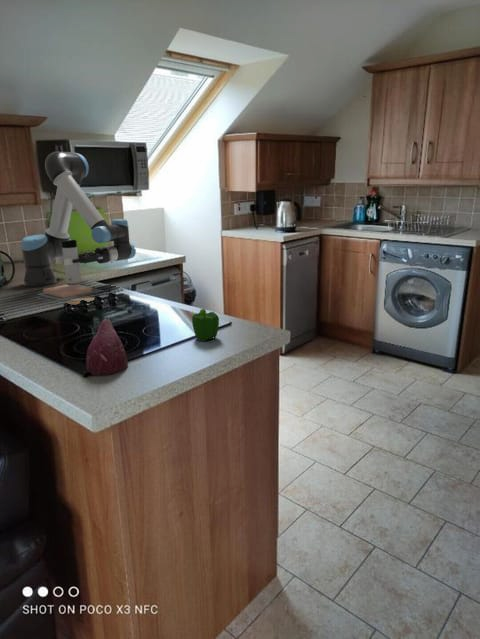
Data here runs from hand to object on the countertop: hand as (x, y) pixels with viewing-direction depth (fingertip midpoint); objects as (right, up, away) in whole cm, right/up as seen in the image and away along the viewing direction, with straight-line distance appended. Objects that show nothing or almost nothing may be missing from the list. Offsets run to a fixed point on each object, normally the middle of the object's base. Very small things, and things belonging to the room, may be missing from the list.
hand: (60, 261), depth 201 cm
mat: (+2, -14, +7) cm, 15 cm away
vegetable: (+43, -38, -79) cm, 98 cm away
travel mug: (+4, -10, +7) cm, 12 cm away
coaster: (+13, -18, -11) cm, 25 cm away
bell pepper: (+67, -31, -57) cm, 94 cm away
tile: (+6, -11, +10) cm, 16 cm away
